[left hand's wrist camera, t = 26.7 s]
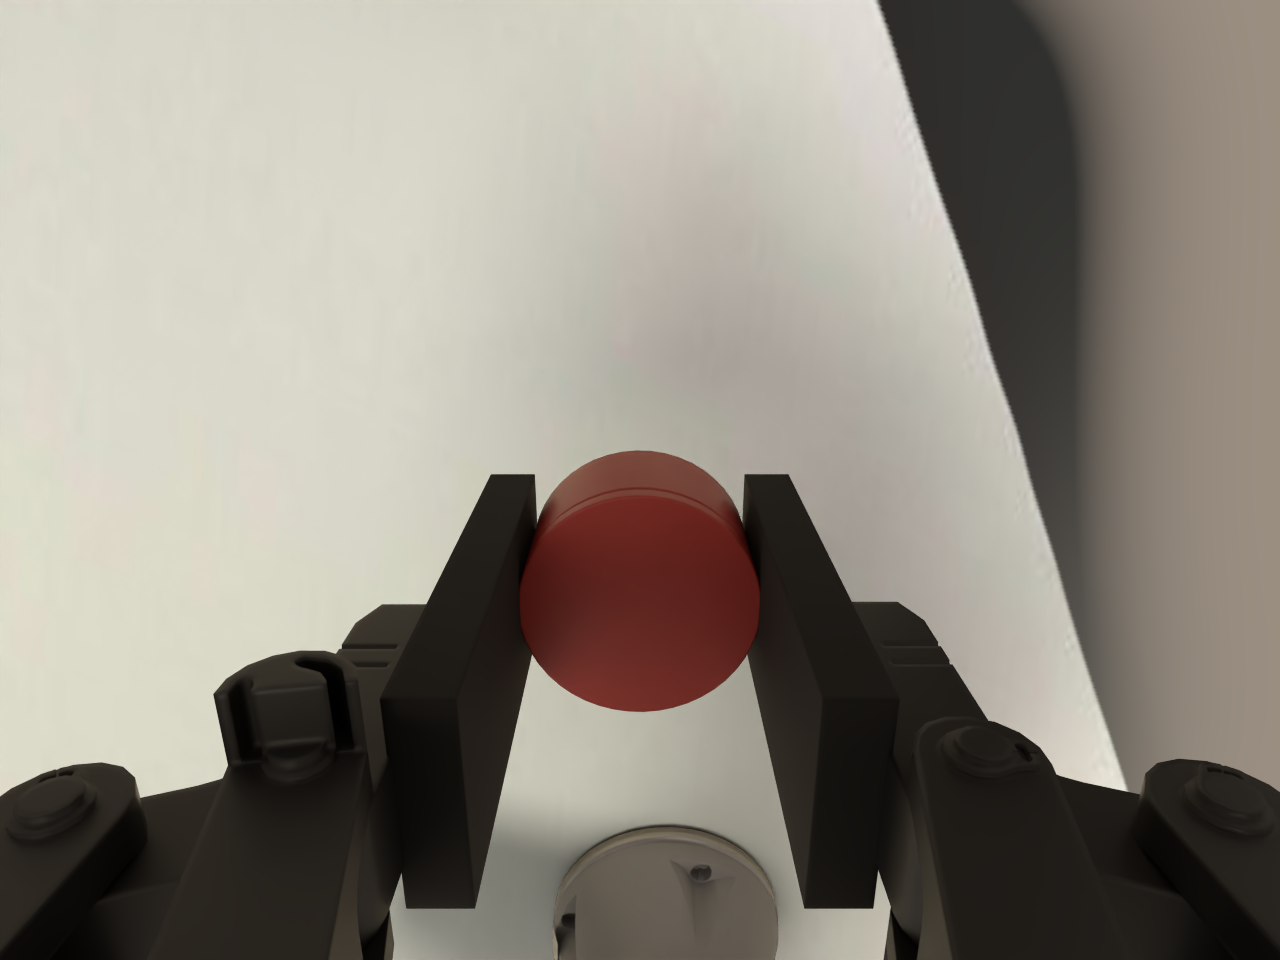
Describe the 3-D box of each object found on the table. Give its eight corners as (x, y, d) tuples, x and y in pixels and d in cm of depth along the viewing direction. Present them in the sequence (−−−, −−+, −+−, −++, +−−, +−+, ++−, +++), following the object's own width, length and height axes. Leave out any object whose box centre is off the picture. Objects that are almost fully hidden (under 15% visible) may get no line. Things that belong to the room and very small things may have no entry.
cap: (759, 459, 14) (780, 508, 12) (729, 649, 15) (743, 722, 13) (540, 439, 14) (523, 484, 12) (528, 631, 15) (511, 702, 13)
